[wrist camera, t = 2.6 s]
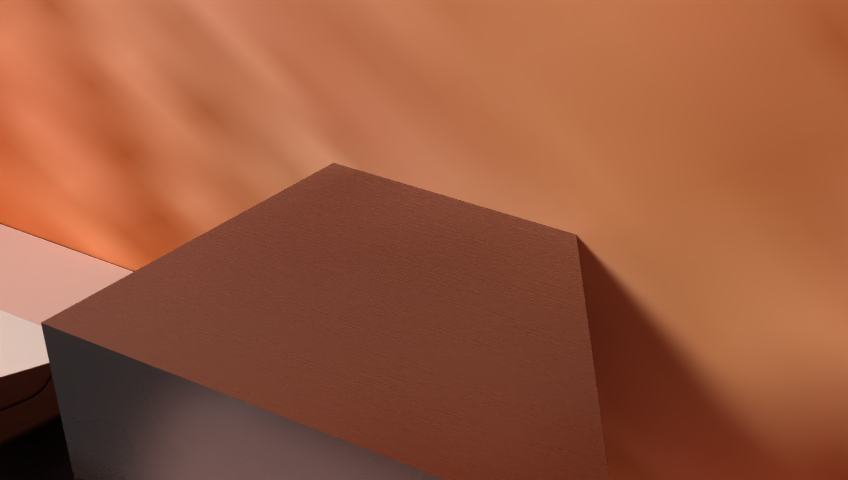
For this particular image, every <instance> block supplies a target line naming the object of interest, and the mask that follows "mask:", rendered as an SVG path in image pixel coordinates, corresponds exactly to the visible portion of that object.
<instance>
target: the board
mask: <svg viewBox="0 0 848 480" xmlns="http://www.w3.org/2000/svg"><path fill="white" fill-rule="evenodd" d="M131 273H133V271H130V270H127V269H124V268H122V267H119V266H116V265H113V264H111V263H108V262H105V261H102V260H99V259H97V258H94V257H91V256H88V255H85V254H83V253H80V252H77V251H74V250H72V249H69V248H66V247H63V246H60V245H58V244H55V243H52V242H49V241H46V240H44V239H41V238H38V237H35V236H32V235H30V234H27V233H24V232H21V231H19V230H16V229H13V228H10V227H7V226H5V225H2V224H0V377H2V376H6V375H9V374H12V373H16V372H19V371H23V370H26V369H30V368H33V367H36V366H40V365H43V364H46V363H49V359H48V354H47V349H46V345H45V340H44V335H43V331H42V326H41V322H43V321H45V320H47V319H49V318H50V317H52V316H54V315H56V314H58V313H60V312H61V311H63V310H65V309H67V308H69V307H71V306H72V305H74V304H76V303H78V302H80V301H82V300H83V299H85V298H87V297H89V296H91V295H92V294H94V293H96V292H98V291H100V290H102V289H103V288H105V287H107V286H109V285H111V284H113V283H114V282H116V281H118V280H120V279H122V278H124V277H125V276H127V275H129V274H131Z"/></svg>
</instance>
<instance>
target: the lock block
mask: <svg viewBox="0 0 848 480" xmlns="http://www.w3.org/2000/svg"><path fill="white" fill-rule="evenodd" d="M41 326H42V331H43V335H44V340H45V345H46V349H47V354H48V359H49V363H50V368H51V373H52V377H53V382H54V387H55V391H56V396H57V401H58V405H59V410H60V415H61V419H62V424H63V429H64V433H65V438H66V443H67V447H68V452H69V457H70V461H71V466H72V471H73V475H74V480H610V479H609V472H608V464H607V457H606V450H605V442H604V435H603V428H602V420H601V413H600V406H599V398H598V391H597V384H596V376H595V369H594V362H593V354H592V347H591V340H590V332H589V325H588V318H587V310H586V303H585V296H584V288H583V281H582V274H581V266H580V259H579V252H578V244H577V237H576V235H575V234H572V233H569V232H565V231H562V230H558V229H555V228H552V227H548V226H545V225H542V224H538V223H535V222H531V221H528V220H525V219H521V218H518V217H515V216H511V215H508V214H504V213H501V212H498V211H494V210H491V209H488V208H484V207H481V206H477V205H474V204H471V203H467V202H464V201H461V200H457V199H454V198H450V197H447V196H444V195H440V194H437V193H434V192H430V191H427V190H423V189H420V188H417V187H413V186H410V185H406V184H403V183H400V182H396V181H393V180H390V179H386V178H383V177H379V176H376V175H373V174H369V173H366V172H363V171H359V170H356V169H352V168H349V167H346V166H342V165H339V164H336V163H333V164H331V165H329V166H327V167H325V168H323V169H322V170H320V171H318V172H316V173H314V174H312V175H311V176H309V177H307V178H305V179H303V180H301V181H300V182H298V183H296V184H294V185H292V186H290V187H289V188H287V189H285V190H283V191H281V192H279V193H278V194H276V195H274V196H272V197H270V198H268V199H267V200H265V201H263V202H261V203H259V204H257V205H256V206H254V207H252V208H250V209H248V210H246V211H245V212H243V213H241V214H239V215H237V216H235V217H234V218H232V219H230V220H228V221H226V222H224V223H223V224H221V225H219V226H217V227H215V228H213V229H212V230H210V231H208V232H206V233H204V234H202V235H201V236H199V237H197V238H195V239H193V240H191V241H190V242H188V243H186V244H184V245H182V246H180V247H179V248H177V249H175V250H173V251H171V252H169V253H168V254H166V255H164V256H162V257H160V258H158V259H157V260H155V261H153V262H151V263H149V264H147V265H146V266H144V267H142V268H140V269H138V270H136V271H135V272H133V273H131V274H129V275H127V276H125V277H124V278H122V279H120V280H118V281H116V282H114V283H113V284H111V285H109V286H107V287H105V288H103V289H102V290H100V291H98V292H96V293H94V294H92V295H91V296H89V297H87V298H85V299H83V300H82V301H80V302H78V303H76V304H74V305H72V306H71V307H69V308H67V309H65V310H63V311H61V312H60V313H58V314H56V315H54V316H52V317H50V318H49V319H47V320H45V321H43V322H41Z"/></svg>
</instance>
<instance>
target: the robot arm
mask: <svg viewBox="0 0 848 480" xmlns="http://www.w3.org/2000/svg"><path fill="white" fill-rule="evenodd" d="M0 480H74V475H73V471H72V466H71V461H70V457H69V452H68V447H67V443H66V438H65V433H64V429H63V424H62V419H61V415H60V410H59V405H58V401H57V396H56V391H55V387H54V382H53V377H52V373H51V368H50V363H46V364H43V365H40V366H36V367H33V368H30V369H26V370H23V371H19V372H16V373H12V374H9V375H6V376H2V377H0Z"/></svg>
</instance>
